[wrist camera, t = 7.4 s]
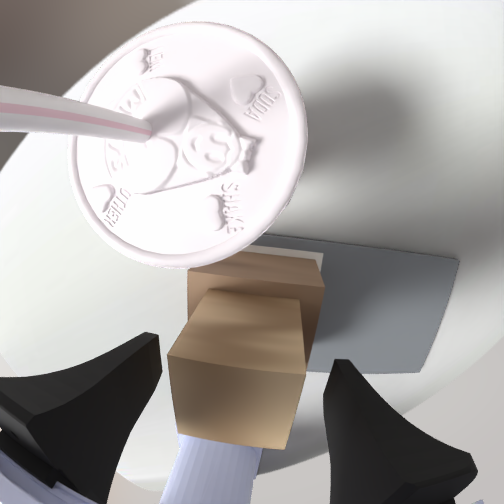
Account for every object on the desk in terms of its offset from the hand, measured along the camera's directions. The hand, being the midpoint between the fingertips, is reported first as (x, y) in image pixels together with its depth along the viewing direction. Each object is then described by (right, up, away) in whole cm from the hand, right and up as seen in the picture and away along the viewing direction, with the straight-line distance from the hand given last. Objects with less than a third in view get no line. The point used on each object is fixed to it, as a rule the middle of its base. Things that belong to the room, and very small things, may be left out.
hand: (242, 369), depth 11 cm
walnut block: (+1, +2, +6) cm, 6 cm away
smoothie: (-1, +10, +5) cm, 11 cm away
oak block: (0, +1, +2) cm, 2 cm away
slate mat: (+6, +1, +6) cm, 8 cm away
